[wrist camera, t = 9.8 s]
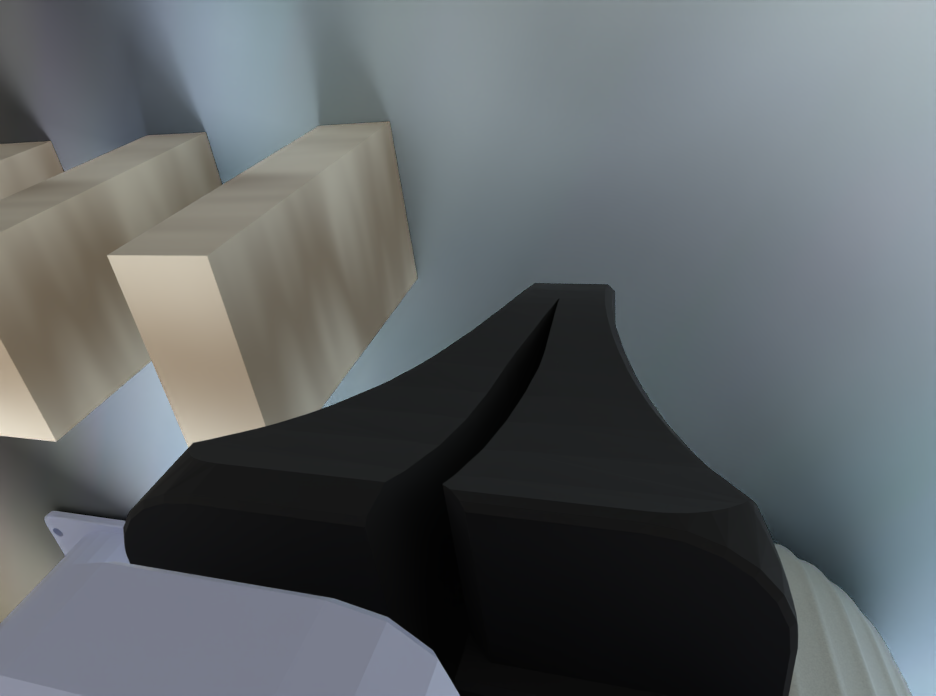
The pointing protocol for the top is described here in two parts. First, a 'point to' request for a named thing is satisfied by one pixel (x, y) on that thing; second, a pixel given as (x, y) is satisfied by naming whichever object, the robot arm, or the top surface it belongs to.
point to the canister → (835, 640)
